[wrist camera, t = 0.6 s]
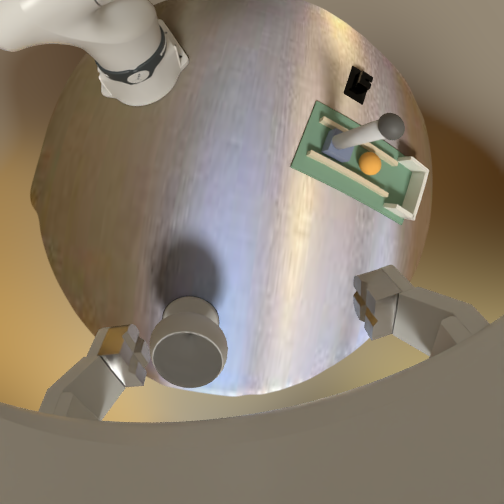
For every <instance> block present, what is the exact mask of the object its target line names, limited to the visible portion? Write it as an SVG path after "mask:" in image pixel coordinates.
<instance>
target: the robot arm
mask: <svg viewBox="0 0 504 504" xmlns="http://www.w3.org/2000/svg"><path fill="white" fill-rule="evenodd" d="M40 44H67V45H73V46H77V47H80V48H82V49H84V50H85V51H86V52H88V53H89V54H90V55H91V56H92V57H93V58H94V59H95V62H96V64H97V66H98V72H100V76H99V80H100V81H101V83H102V89H101V91H102V94H103V95H104V96H105V97H111V98H116V99H118V100H119V101H121V102H123V103H125V104H127V105H132V106H142V105H147V104H150V103H153V102H155V101H157V100H159V99H160V98H162V97H163V96H165V95H166V94H167V93H168V92H169V91H170V90H171V89H172V87H173V86H174V85H175V83H176V81H177V78H178V76H179V74H180V72H181V71H182V70H183V69H184V68H185V67H186V66H187V64H188V63H189V59H188V57H187V55H186V54H185V52H184V51H183V49H182V48H181V46H180V45H179V43H178V42H177V40H176V39H175V37H174V36H173V35H172V33H171V32H170V30H169V29H168V27H167V26H166V24H165V23H164V22H163V20H161V19H158V18H157V14H156V11H155V8H154V6H153V4H152V3H151V2H150V1H149V0H0V49H3V50H6V51H18V50H21V49H24V48H27V47H31V46H35V45H40ZM180 56H182V58H179V57H180ZM354 287H355V289H356V290H357V291H356V293H355V294H354V296H353V297H354V307H355V311H356V314H357V316H358V318H359V320H361V321H363V322H365V326H364V328H365V330H366V332H367V333H368V335H369V337H370V338H371V340H374V339H377V338H381V337H384V336H387V335H389V334H393V335H394V336H396V337H398V338H399V339H401V340H403V341H405V342H406V343H408V344H410V345H411V346H413V347H415V348H416V349H418V350H420V351H422V352H423V353H425V354H427V355H428V356H430V357H429V359H427V360H425V361H423V362H421V363H418V364H416V365H414V366H412V367H410V368H407V369H405V370H403V371H400V372H398V373H395V374H393V375H390V376H388V377H385V378H383V379H380V380H378V381H375V382H372V383H369V384H367V385H364V386H361V387H358V388H355V389H352V390H349V391H346V392H343V393H340V394H336V395H333V396H329V397H326V398H323V399H319V400H315V401H311V402H308V403H304V404H300V405H295V406H291V407H286V408H282V409H277V410H272V411H267V412H261V413H255V414H249V415H243V416H236V417H229V418H220V419H211V420H200V421H186V422H165V423H164V422H163V423H162V422H160V423H136V422H112V421H101V420H102V419H103V418H104V416H105V415H106V413H107V412H108V411H109V409H110V408H111V407H112V405H113V404H114V403H115V401H116V400H117V399H118V397H119V396H120V395H121V393H122V392H123V391H124V389H125V387H134V386H144V381H145V377H146V373H147V372H146V371H145V369H144V368H145V367H146V366H147V365H148V364H149V359H150V354H149V348H148V346H147V344H146V342H145V340H143V339H142V338H140V337H138V336H139V331H138V329H137V328H136V326H135V325H132V324H130V325H122V326H114V327H107V328H101V329H100V330H99V331H98V333H97V335H96V337H95V339H94V341H93V343H92V345H91V348H90V350H89V352H88V355H87V357H83V358H82V359H81V360H80V361H79V362H78V363H76V364H75V365H74V366H73V367H72V368H71V369H70V370H69V371H68V372H66V373H65V374H64V375H63V376H62V377H61V378H60V379H59V380H57V381H56V382H55V383H54V384H53V385H52V386H51V387H50V388H49V389H48V390H47V392H46V394H45V397H44V399H43V401H42V404H41V406H40V409H39V411H38V412H37V411H32V410H28V409H23V408H19V407H15V406H12V405H8V404H4V403H1V402H0V504H504V315H503V316H501V317H500V318H499V319H497V320H496V321H494V322H493V323H491V324H489V323H488V322H487V320H486V319H485V318H484V317H483V316H482V315H481V314H480V313H479V312H478V311H477V310H476V309H475V308H474V307H473V306H472V305H471V304H468V303H465V302H462V301H460V300H456V299H454V298H451V297H448V296H445V295H442V294H439V293H436V292H433V291H430V290H427V289H424V288H421V287H416V288H415V287H414V286H413V285H412V284H411V283H410V282H409V281H408V280H407V279H406V278H405V277H404V276H403V275H402V274H401V273H400V272H399V271H398V270H397V269H396V268H395V267H394V266H393V265H388V266H385V267H382V268H379V269H377V270H374V271H371V272H367V273H364V274H360V275H357V276H355V277H354Z"/></svg>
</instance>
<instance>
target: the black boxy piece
mask: <svg viewBox="0 0 504 504" xmlns="http://www.w3.org/2000/svg"><path fill="white" fill-rule="evenodd" d="M372 80H373V77H372V76H370V75H369V74H367V73H366V72H364V71H360V70H359V69H357V68H356V67H354V66H352V69H351V72H350V75H349V78H348V81H347V84H346V87H345V90H344V94H345V95H347V96H349V97H350V98H352V99H354V100H355V101H357V102H359V103H360V104H362V105H363V102H364V99H365V96H366V92H367V91H368V90H369V89H370V87H371V83H369V82H372Z"/></svg>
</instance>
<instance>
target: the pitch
mask: <svg viewBox="0 0 504 504" xmlns="http://www.w3.org/2000/svg"><path fill="white" fill-rule="evenodd" d="M324 116H325V117H327V118H328V119H330V120H332V121H334V122H336V123H337V124H339V125H341V126H343V127H344V128H346V129H348V130H351V129H354V128H356V127H359V126H360V125H359V124H357V123H355V122H354V121H352V120H350V119H349V118H347V117H345V116H343V115H342V114H340V113H338V112H336V111H335V110H333V109H331V108H329V107H327V106H326V105H324V104H322V103H320V102H318V101H316V103H315V106H314V108H313V111H312V113H311V116H310V118H309V121H308V124H307V126H306V129H305V131H304V134H303V136H302V139H301V142H300V144H299V147H298V149H297V152H296V154H295V157H294V159H293V162H292V164H291V168H293V169H295V170H298V171H300V172H302V173H304V174H306V175H308V176H310V177H313V178H315V179H317V180H319V181H321V182H323V183H325V184H327V185H329V186H331V187H333V188H335V189H337V190H339V191H341V192H343V193H345V194H346V195H348V196H350V197H352V198H354V199H356V200H358V201H360V202H362V203H363V204H365V205H367V206H369V207H371V208H372V209H374V210H376V211H378V212H379V213H381V214H383V215H385V216H386V217H388V218H390V219H392V220H393V221H395V222H397V223H398V224H400V225H402V223H403V220H404V218H401V217H399V216H397V215H396V214H394V213H393V212H391V211H389V210H388V209H386V208H384V207H383V205H384V203H391V204H398V205H399V206H401V207H402V204H403V201H404V198H405V195H406V192H407V189H408V185H409V182H410V178H411V175H412V171H410V170H409V169H408V168H406V167H405V166H404V165H402V164H401V163H399V162H398V166H391V165H390V164H388V163H387V162H385V161H384V160H382V159H381V158H380V160H381V169H380V171H379V172H378V173H377V174H375V175H367V174H365V173H363V172H362V171H361V169H360V167H359V158H360V157H361V155H362V154H364V153H366V152H370V151H368V150H366V149H365V148H363V147H362V146H360V145H356V146H354V149H353V152H352V155H351V158H350V161H348V162H342V163H341V162H339V161H337V160H335V159H334V158H332V157H330V156H328V155H326V154H324V153H322V152H321V151H322V148H323V145H324V143H325V140H326V137H327V134H328V132H329V131H331V130H332V129H330V128H328V127H327V126H325V125H323V124H321V123H319V121H320V118H322V117H324ZM369 143H371V144H372V145H374V146H375V147H377V148H378V149H380V150H382V151H383V152H384V153H386V154H387V155H389V156H390V157H392V158H393V159H395V160H396V161H398V157H406V156H404V155H403V154H402V153H400V152H399V151H398V150H396V149H395V148H393V147H392V146H390V145H389V144H388V143H386V142H385V141H383V140H382V139H381V140H377V141H373V142H369ZM310 150H313V151H315V152H317V153H319V154H321V155H322V156H324V157H326V158H328V159H330V160H332V161H334V162H336V163H338V164H340V165H341V166H343V167H345V168H347V169H349V170H350V171H352V172H354V173H356V174H358V175H359V176H361V177H363V178H364V179H366V180H368V181H370V182H371V183H373V184H375V185H376V186H378V187H379V188H381V189H383V190H384V191H386V192H388V193H389V195H388V197H382V196H380V195H378V194H377V193H375V192H373V191H372V190H370V189H368V188H366V187H365V186H363V185H361V184H359V183H358V182H356V181H354V180H352V179H351V178H349V177H347V176H345V175H343V174H341V173H339V172H338V171H336V170H334V169H332V168H330V167H328V166H326V165H324V164H322V163H320V162H318V161H316V160H314V159H312V158H310V157H308V156H306V155H307V152H308V151H310Z"/></svg>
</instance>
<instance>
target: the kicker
mask: <svg viewBox="0 0 504 504" xmlns="http://www.w3.org/2000/svg"><path fill="white" fill-rule="evenodd" d="M404 130H405V126H404V123H403V121H402V119H401V118H400V117H399V116H398V115H396V114H393V113H386V114H384V115H382V116H381V117H380V119H379V120H376V121H373V122H370V123H367V124H365V125H362V126H359V127H356V128H354V129H351V130H348V131H346V132H342V131H340V130H339V129H337V128H335V129H333V130H331V131H329V132H328V134H327V137H326V140H325V143H324V145H323V148H322V151H321V152H322V153H324V154H326V155H328V156H330V157H332V158H334V159H335V160H337V161H339V162H341V163H342V162H348V161H350V158H351V155H352V152H353V149H354V146H356V145H360V144H364V143H368V142H373V141H377V140H381V139H385V138H386V139H389V140H397V139H399V138H400V137H401V136H402V135H403V133H404Z"/></svg>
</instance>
